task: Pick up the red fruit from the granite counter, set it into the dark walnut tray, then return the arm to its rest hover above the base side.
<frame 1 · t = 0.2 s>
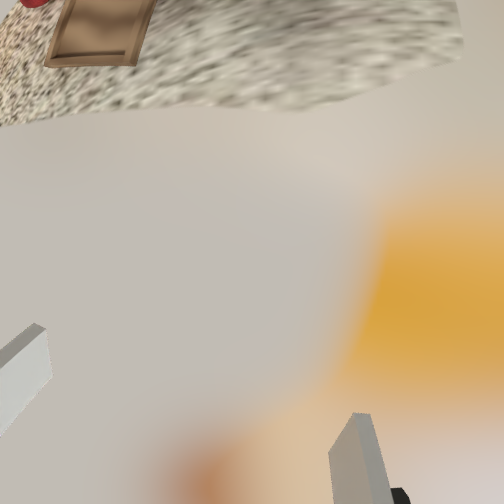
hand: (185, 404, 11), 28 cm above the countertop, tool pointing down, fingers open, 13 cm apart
tray: (104, 18, 31), on the countertop
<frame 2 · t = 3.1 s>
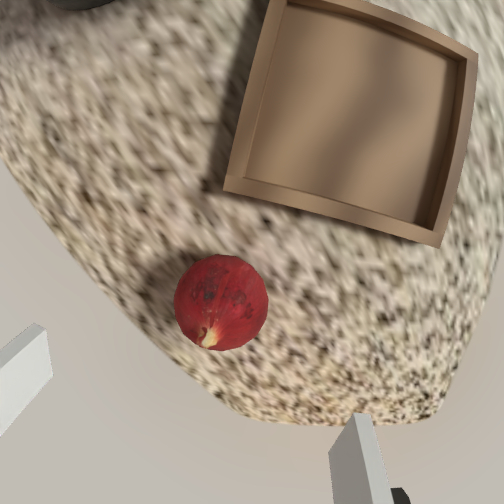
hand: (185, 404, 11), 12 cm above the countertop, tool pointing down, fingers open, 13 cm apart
tray: (362, 108, 19), on the countertop
red fruit: (230, 279, 23), on the countertop
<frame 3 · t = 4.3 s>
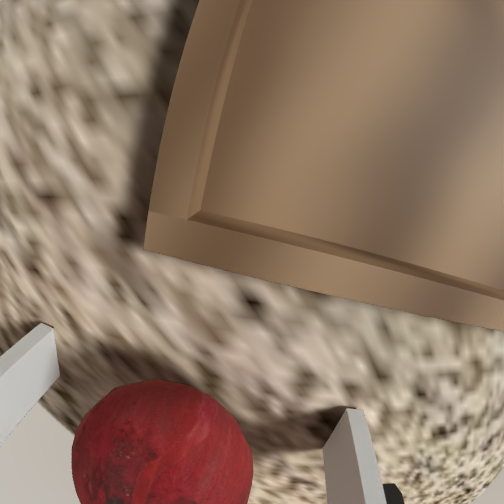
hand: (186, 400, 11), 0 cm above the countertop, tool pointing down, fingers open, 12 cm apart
tray: (450, 70, 7), on the countertop
red fruit: (188, 393, 12), on the countertop
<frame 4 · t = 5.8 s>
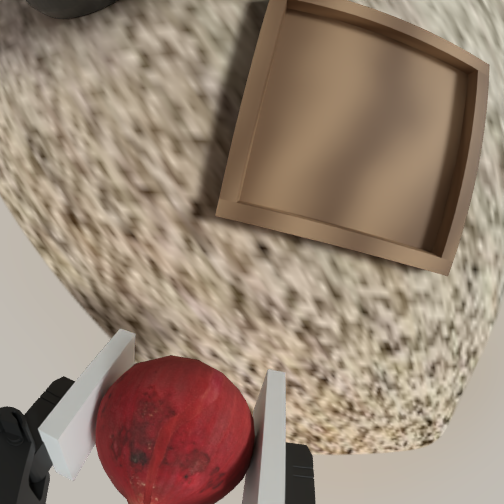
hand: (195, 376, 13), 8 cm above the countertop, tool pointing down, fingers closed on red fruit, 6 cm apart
tray: (367, 125, 17), on the countertop
red fruit: (197, 373, 14), point 8 cm above the countertop, touching gripper
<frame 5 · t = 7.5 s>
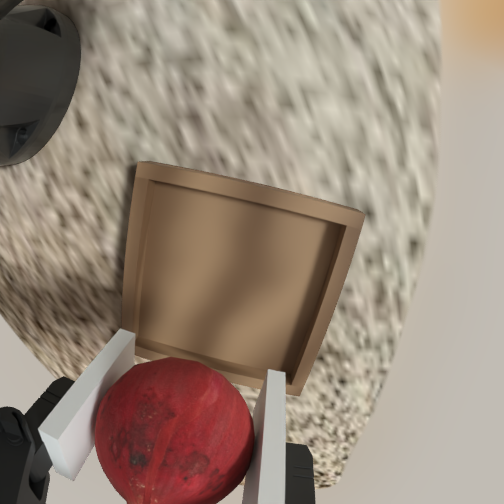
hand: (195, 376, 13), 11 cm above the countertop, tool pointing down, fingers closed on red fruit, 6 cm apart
tray: (229, 283, 23), on the countertop
red fruit: (196, 374, 14), point 10 cm above the countertop, touching gripper
when the fingers open (2 cm above the countertop, at t = 9.3 s): red fruit stays where it is, resting on tray.
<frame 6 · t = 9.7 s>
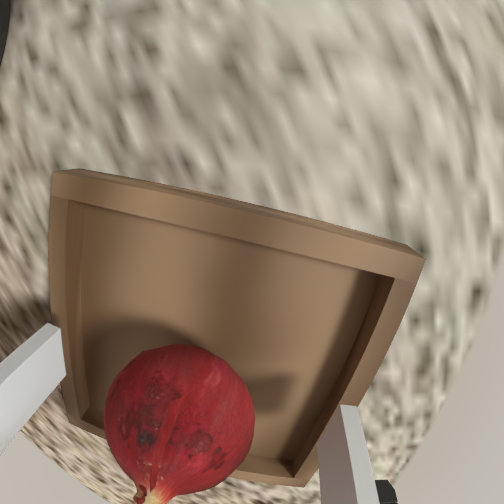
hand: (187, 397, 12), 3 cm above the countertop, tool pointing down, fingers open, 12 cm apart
tray: (204, 353, 15), on the countertop
red fruit: (200, 362, 14), resting on tray
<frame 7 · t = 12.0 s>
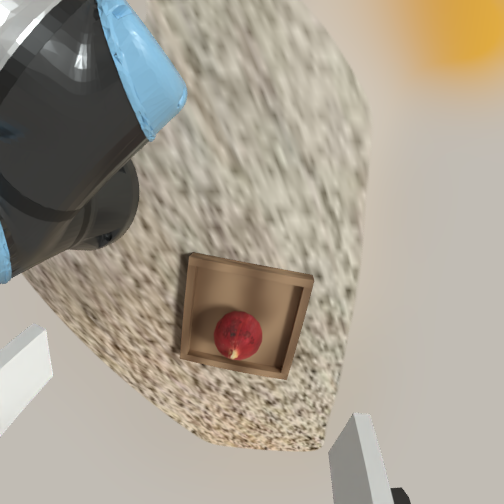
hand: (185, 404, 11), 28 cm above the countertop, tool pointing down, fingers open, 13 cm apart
tray: (242, 317, 41), on the countertop
red fruit: (241, 320, 41), resting on tray
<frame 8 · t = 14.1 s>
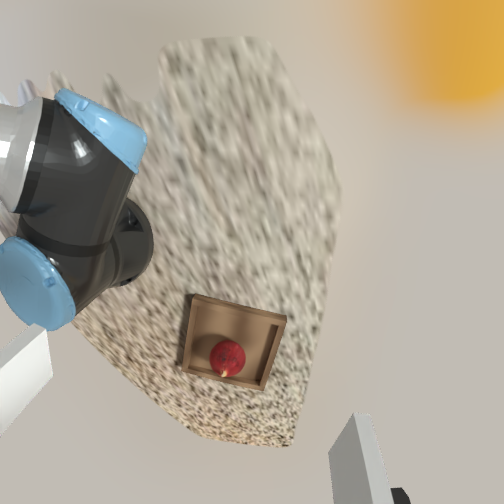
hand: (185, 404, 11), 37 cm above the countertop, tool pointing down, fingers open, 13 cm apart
tray: (231, 342, 52), on the countertop
red fruit: (230, 345, 52), resting on tray
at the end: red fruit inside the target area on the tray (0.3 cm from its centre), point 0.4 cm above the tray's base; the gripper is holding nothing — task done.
